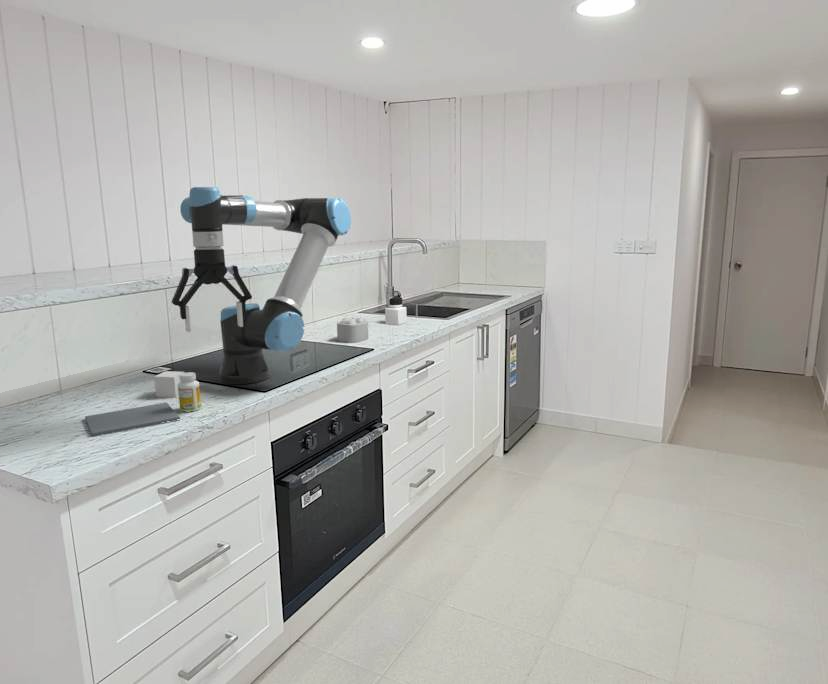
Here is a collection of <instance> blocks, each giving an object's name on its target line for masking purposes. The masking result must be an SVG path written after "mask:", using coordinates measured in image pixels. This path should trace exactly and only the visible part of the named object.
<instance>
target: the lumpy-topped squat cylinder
mask: <svg viewBox="0 0 828 684" xmlns="http://www.w3.org/2000/svg"><path fill="white" fill-rule="evenodd" d="M336 333H337V335H336V336H337V342H340V343H347V344H357V343H361V342H364V341H368V340H369V321H368V320H367V319H365V317H362V316H361V317H359V316H353V317H352V318H349V317H347V316H345V317H344V318H343V319H342V320H341V321H338V322H337V323H336Z"/></svg>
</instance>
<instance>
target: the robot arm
mask: <svg viewBox="0 0 828 684" xmlns="http://www.w3.org/2000/svg"><path fill="white" fill-rule="evenodd" d="M179 210H180V215H181V218H182V219H183V220H184V221H185V222H187V224H188V223H189V224H191V230H192V231H191V234H192V245H193V246H192V247H194V248H195V249H194V250H193V258H194V259H193V261H194V267H193V268H187V267H183V268H182V270H181V271H182V272H181V278H180V280H179V283H178V284H177V287H176V290H175V291H174V295H173V297H172V299H171V304H173V305H174V306H178V307H179V313H180V319H181V320H184V323H185V324H184V325H185V331H186V332H187V333H191V332H192V330H191V329H192V328H191V317H190V307H189V306H188V303H189V302H190V300H191V299H192V298H193V296H194V295H195V294H196V292H197V291H198V290H199V288H200V287H202V285H203V284H204V285H212V284H214V285H218V284H220V283H221V284H222V285H224V287H226V289H228V292H230V293H231V294H232V295H234V297H235V298H236V299H237V300H238V301H236V305H232V306H231V305H230V306H227V307H224V308H222V310H221V311H220V331H221V341H222V349H223V357H222V361H221V364H220V365H221V366H220V368H219V374H218V375H219V381H220V383H224V384H229V385H245V384H246V385H247V384H252V383H253V384H254V383H258V382H263V381H265V380H267V379H269V378H270V368H269V365H268V363H267V361H266V359H265V356H264V353H263V350H268V351H274V352H288V351H290V350H294V348H296V347H297V346H298V345H299V344H300V342H301V341H302V339H303V338H304V333H305V329H304V327H305V323H304V320H303V312H302V309H301V308H302V306H303V304H304V301H305V300H306V297H307V296H308V292H309V291H310V288H311V286H312V284H313V281H314V279H315V277H316V275H317V273H318V270H319V268H320V266H321V263H322V261H323V259H324V257H325V254H326V252H327V250H328V248H329V247H333V246H334V245H335V243H337V240H338V237H339V236H344V235H347V234H348V233H349V231H350V229H351V224H352V215H351V212H350V208H349V206H348V204H347V203H346V202H345V200H343V199H341V198H339V197H332V196H329V197H309V198H308V197H305V198H295V199H288V200H287V199H286V200H282V199H277V200H275V201H273V202H270V201H269V202H268V201H257V200H254V199H253V198H252V197H251V196H248V195H242V194H240V195H238V194H237V195H235V194H234V195H230V194H228V195H221V192H220V188H218V187H215V186H196V187H195V186H193V187H191V188H190V190H189V196H187V197H185V198H184V199H183V200H182V201H181V203H180V209H179ZM223 225H225V226H226V225H227V226H228V225H229V226H246V227H247V226H248V227H249V226H250V227H251V226H252V227H266V228H267V227H270V228H273V229H274V230H277V231H283V232H284V231H285V232H290V233H296V234H300V235H301V234H302V237H301V238H300V240H299V243H298V245H297V247H296V250H295V251H294V253H293V256H292V259H290V262H289V264H288V267H287V269H286V270H285V272H284V275H283V278H282V279H281V281H280V283H279V286H278V287H277V290H276V292H275V294H274V296H273V297H270V298H268V299H267V300H266V301H265V303H264V305H263V307H262V309H260V308H261V307H260V305H259V304H258V303H257V302H255V303H247V301H249V300H251V299H252V298H253V296H252V293H251V292H250V291H249V289H248V287H247V285H246V283H245V282H244V281H243V278H242V277H241V275H240V272H239V269H238V266H237V265H234V264H233V265H231V266H227V265H226V261H225V260H226V259H225V250H224V248H223V247H224V235H223ZM227 272H228V273H229V274H230V275H232V276H233V279H234V280H235V282H236V284H237V285H238V287H239V289H240V290H241V292H242V294H243V295H242V294H241V293H240V292H239V290H238V289H236V288H235V286H234V285H232V283H230V281H229V280H228V279H227V278H226V277H225V276H226V274H227ZM192 275H195V276H196V280H194V282H193V283H192V285H191V286H190V288H188V291H186V293H185V294H184V296H183V293H184V291H185V288H186V286H187V283H188V281H189V279H190V277H192ZM182 296H183V297H182Z"/></svg>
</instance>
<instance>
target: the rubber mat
mask: <svg viewBox="0 0 828 684" xmlns="http://www.w3.org/2000/svg"><path fill="white" fill-rule="evenodd" d="M84 419H85V422H86V424H87V427H88V428H89V429H88V430H89V431H90V434H91V436H92V437H97V435H99V436H102V435H101V434H104V435H107V434H106V433H109V434H113V433H112V432H115V433H118V432H117V431H120V432H123V430H125V431H129V430H128V429H131V430H133V429H132V428H136V429H140V428H139V427H141V428H144V427H143V426H147V425H152V424H157V423H162V422H167V421H173V420H177V419H180V420H181V417H180V415H179V414H178V413H177V412H176V411H175V410H174V409H173V407H172V406H171V405H170V404H169V403H168V402H167V401H166V402H161V403H154V404H149V405H144V406H138V407H137V406H136V407H131V408H126V409H121V410H115V411H108V412H102V413H97V414H91V415H90V414H89V415H85V416H84ZM173 422H174V421H173ZM162 424H163V423H162ZM157 425H158V424H157ZM152 426H153V425H152ZM147 427H148V426H147Z"/></svg>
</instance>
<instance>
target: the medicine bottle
mask: <svg viewBox="0 0 828 684" xmlns="http://www.w3.org/2000/svg"><path fill="white" fill-rule="evenodd" d="M388 306H389V307H385V309H384V322H385V325H394V326H400V325H403V324H406V323H408V322H407V318H408V317H407V316H408V315H407V314H408V313H407V307H406V306H403V297H402V296H391V297H389V298H388Z"/></svg>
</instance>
